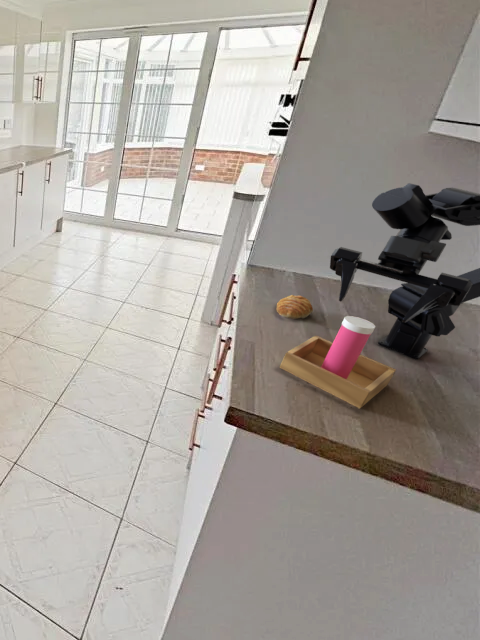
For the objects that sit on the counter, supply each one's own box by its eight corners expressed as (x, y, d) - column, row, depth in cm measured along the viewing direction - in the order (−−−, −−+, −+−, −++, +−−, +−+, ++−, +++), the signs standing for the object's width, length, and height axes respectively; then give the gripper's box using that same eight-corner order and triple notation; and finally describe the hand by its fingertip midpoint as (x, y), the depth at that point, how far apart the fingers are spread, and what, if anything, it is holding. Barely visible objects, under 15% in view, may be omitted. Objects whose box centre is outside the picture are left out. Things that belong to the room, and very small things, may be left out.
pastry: (300, 326, 95) (306, 311, 94) (267, 314, 100) (273, 300, 99) (312, 313, 101) (318, 300, 99) (280, 303, 106) (285, 290, 104)
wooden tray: (307, 352, 86) (315, 335, 84) (385, 388, 76) (396, 369, 74) (277, 370, 80) (285, 352, 78) (358, 412, 70) (369, 392, 68)
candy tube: (324, 366, 80) (350, 313, 75) (350, 378, 77) (379, 324, 72) (314, 373, 78) (340, 319, 73) (340, 385, 75) (370, 330, 70)
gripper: (354, 207, 79) (311, 271, 78) (502, 236, 65) (453, 314, 64) (350, 238, 87) (311, 297, 86) (481, 269, 73) (437, 340, 72)
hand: (370, 310), depth 77 cm, fingers open, 9 cm apart
